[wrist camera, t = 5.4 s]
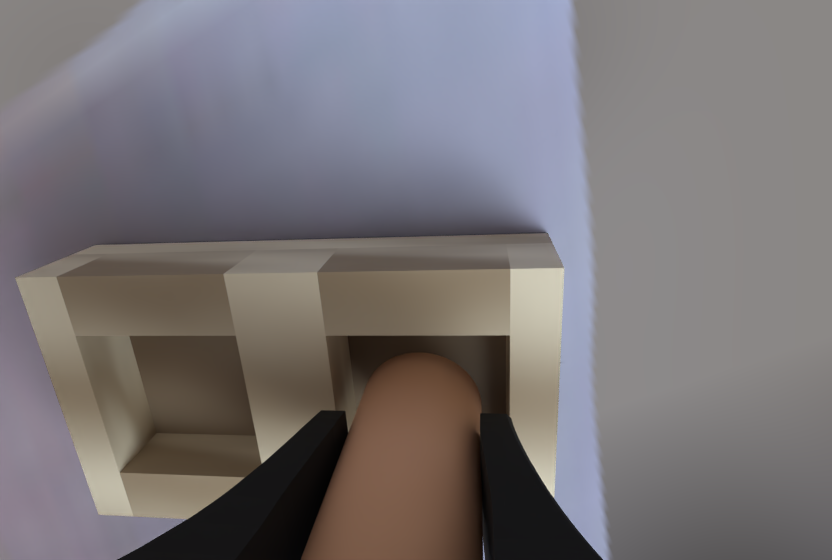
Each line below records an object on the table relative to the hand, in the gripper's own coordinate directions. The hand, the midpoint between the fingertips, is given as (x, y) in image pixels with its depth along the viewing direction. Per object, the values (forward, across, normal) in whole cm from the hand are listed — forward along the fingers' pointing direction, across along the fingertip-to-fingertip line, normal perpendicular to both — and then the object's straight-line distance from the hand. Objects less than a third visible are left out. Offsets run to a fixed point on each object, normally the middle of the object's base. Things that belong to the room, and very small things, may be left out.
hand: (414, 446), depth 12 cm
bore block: (+4, +4, 0) cm, 6 cm away
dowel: (+2, 0, 0) cm, 2 cm away
